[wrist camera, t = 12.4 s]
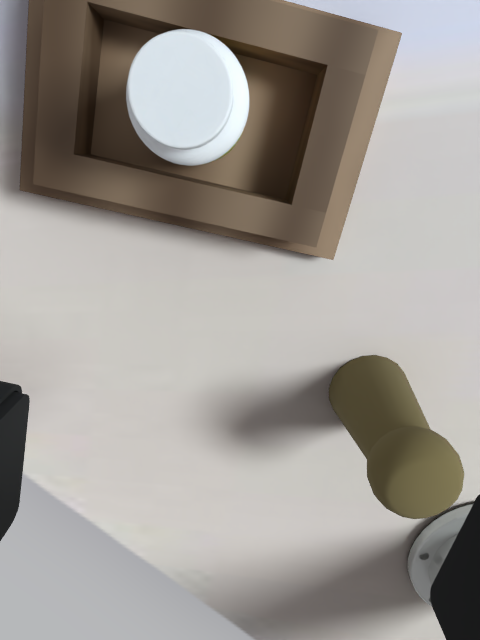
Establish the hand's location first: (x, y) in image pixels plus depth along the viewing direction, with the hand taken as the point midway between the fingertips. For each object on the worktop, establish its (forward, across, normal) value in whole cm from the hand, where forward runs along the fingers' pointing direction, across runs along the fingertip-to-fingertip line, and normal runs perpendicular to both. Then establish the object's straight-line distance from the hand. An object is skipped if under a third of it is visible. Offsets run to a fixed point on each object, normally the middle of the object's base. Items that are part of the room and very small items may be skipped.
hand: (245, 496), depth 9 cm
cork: (+23, -12, +7) cm, 27 cm away
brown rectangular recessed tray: (+22, +5, -8) cm, 24 cm away
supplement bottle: (+21, +5, -8) cm, 23 cm away
